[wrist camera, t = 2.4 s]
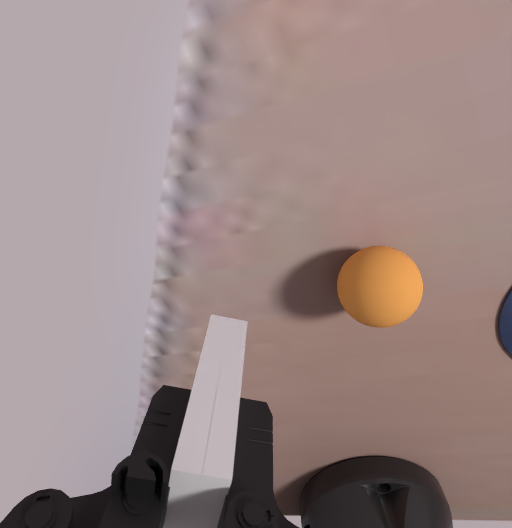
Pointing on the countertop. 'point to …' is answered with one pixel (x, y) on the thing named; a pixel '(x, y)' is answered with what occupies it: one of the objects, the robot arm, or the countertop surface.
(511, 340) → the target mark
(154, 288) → the countertop surface
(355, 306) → the ball
